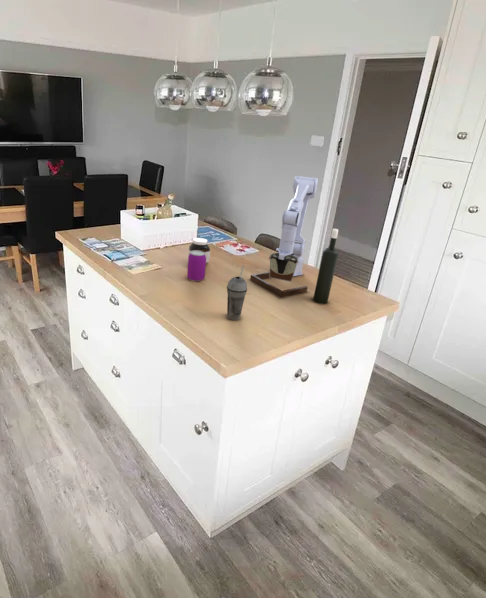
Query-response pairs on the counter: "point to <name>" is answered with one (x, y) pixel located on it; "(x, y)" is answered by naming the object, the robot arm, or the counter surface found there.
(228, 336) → the counter surface
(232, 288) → the beverage cup
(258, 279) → the brown frame
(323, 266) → the wine bottle
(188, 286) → the counter surface
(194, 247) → the spread jar
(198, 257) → the beverage can
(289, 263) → the food container
